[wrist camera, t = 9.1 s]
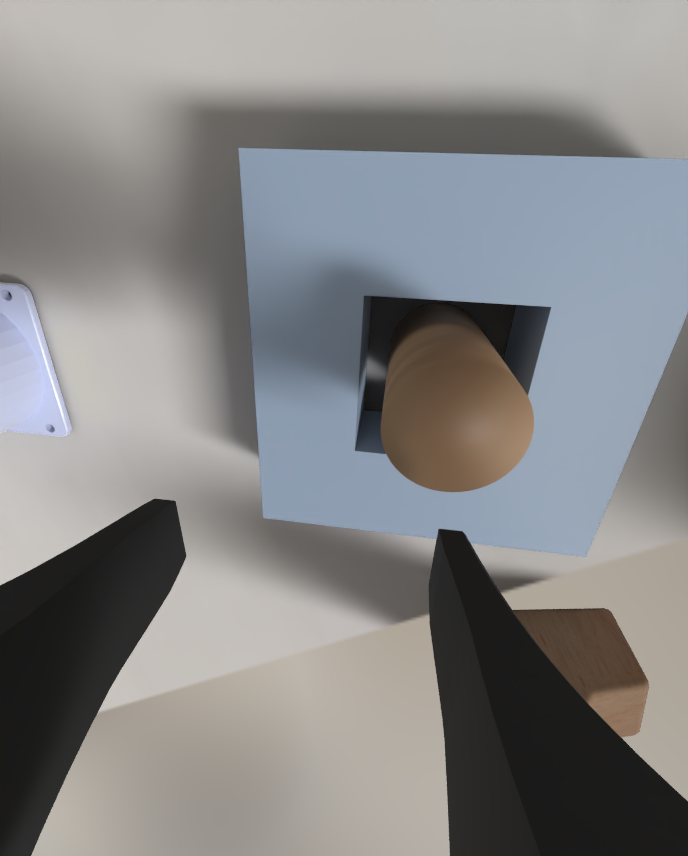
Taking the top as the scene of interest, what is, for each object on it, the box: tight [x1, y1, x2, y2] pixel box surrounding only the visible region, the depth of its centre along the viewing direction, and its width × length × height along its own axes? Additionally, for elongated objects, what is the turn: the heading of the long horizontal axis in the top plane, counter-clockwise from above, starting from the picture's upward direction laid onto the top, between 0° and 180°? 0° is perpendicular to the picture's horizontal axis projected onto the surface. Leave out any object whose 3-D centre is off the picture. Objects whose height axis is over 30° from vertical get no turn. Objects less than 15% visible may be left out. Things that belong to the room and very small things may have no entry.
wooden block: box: [513, 608, 649, 737], centre depth 17 cm, size 9×4×18 cm, turn 101°
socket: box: [238, 148, 688, 557], centre depth 16 cm, size 14×14×4 cm
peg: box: [381, 303, 534, 492], centre depth 14 cm, size 4×4×8 cm
